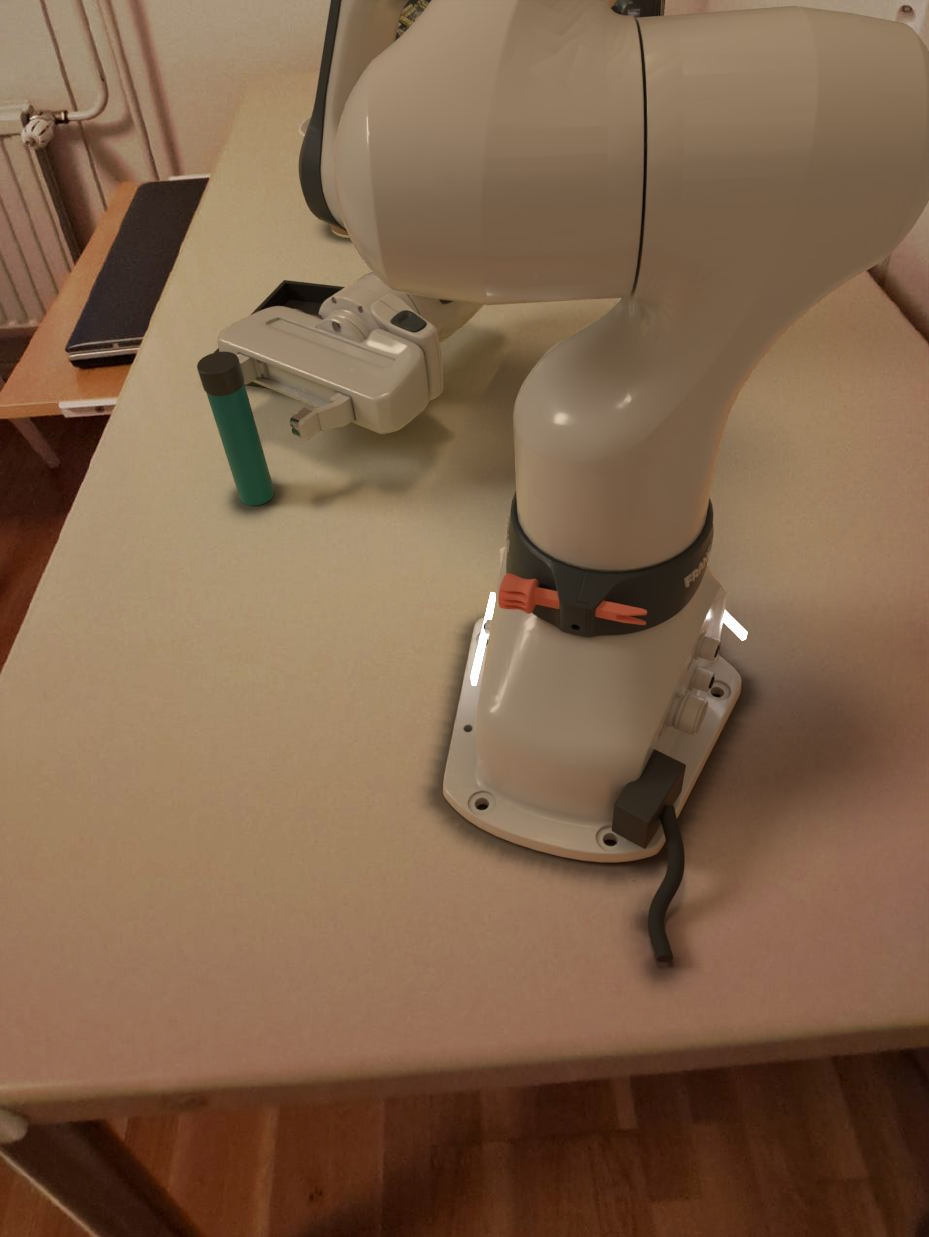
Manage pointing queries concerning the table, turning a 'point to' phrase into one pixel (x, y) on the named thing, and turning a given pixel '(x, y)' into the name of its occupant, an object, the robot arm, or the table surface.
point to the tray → (298, 299)
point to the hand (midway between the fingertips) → (255, 412)
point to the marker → (236, 426)
